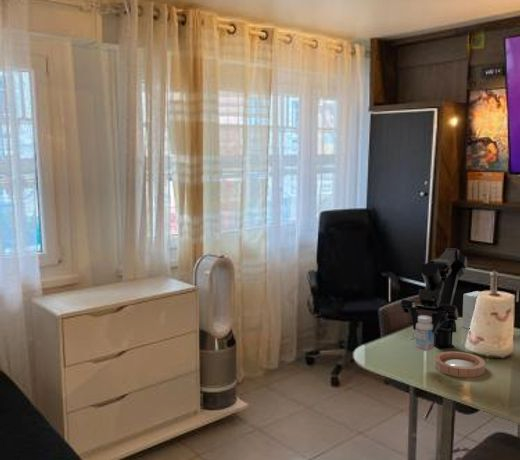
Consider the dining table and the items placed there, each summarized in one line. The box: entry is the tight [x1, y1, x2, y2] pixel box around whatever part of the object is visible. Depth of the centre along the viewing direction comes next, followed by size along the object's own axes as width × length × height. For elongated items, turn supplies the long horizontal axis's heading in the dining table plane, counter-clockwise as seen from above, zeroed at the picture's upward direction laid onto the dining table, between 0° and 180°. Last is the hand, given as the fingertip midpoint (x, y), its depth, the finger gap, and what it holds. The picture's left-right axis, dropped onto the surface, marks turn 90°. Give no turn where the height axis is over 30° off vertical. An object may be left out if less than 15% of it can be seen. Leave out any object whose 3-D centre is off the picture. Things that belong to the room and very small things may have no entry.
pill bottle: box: [414, 314, 434, 352], centre depth 183 cm, size 6×6×11 cm
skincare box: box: [461, 290, 481, 330], centre depth 224 cm, size 8×6×15 cm
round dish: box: [433, 350, 486, 378], centre depth 183 cm, size 16×16×3 cm
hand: (423, 331), depth 181 cm, fingers closed on pill bottle, 6 cm apart
